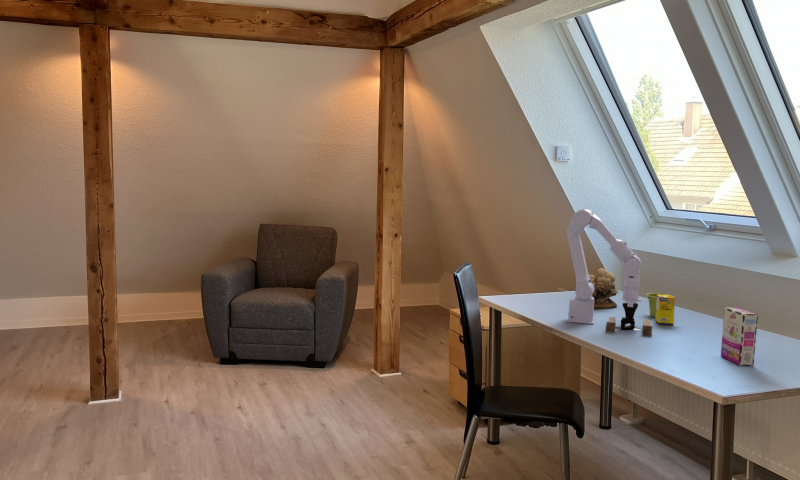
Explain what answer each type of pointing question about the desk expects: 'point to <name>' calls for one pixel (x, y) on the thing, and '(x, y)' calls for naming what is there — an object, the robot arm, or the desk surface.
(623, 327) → the black bracket
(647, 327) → the wooden rail pair
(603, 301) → the tan lumpy statue
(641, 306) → the desk surface
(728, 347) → the candy bar box
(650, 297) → the plant pot
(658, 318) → the supplement box
